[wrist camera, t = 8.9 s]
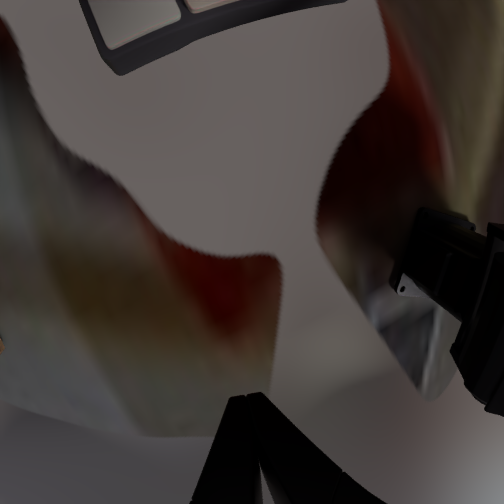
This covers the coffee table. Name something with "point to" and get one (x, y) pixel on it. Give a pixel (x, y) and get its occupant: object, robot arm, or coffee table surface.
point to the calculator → (170, 24)
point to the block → (1, 346)
